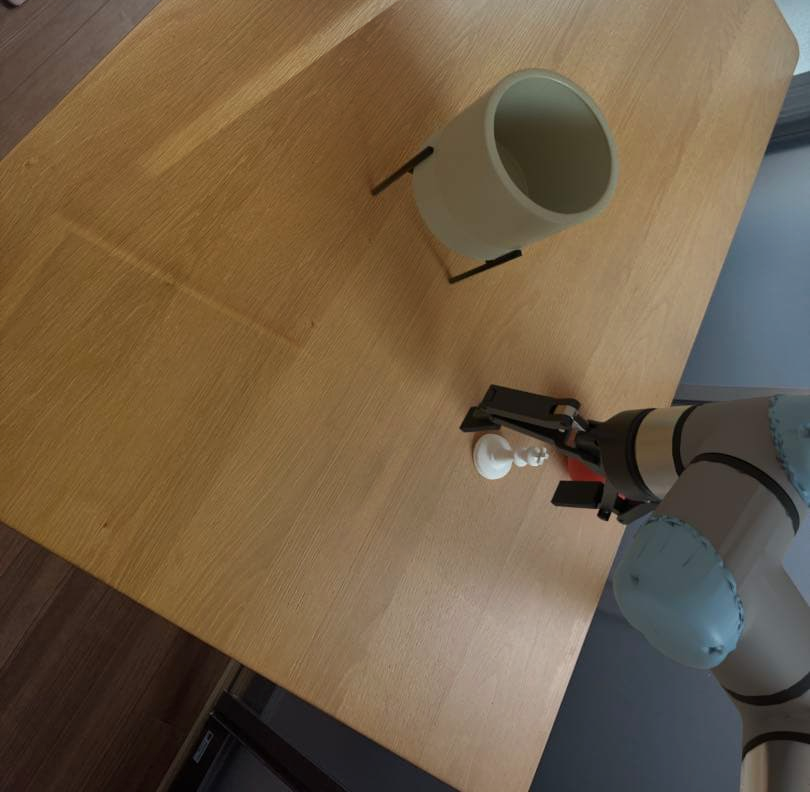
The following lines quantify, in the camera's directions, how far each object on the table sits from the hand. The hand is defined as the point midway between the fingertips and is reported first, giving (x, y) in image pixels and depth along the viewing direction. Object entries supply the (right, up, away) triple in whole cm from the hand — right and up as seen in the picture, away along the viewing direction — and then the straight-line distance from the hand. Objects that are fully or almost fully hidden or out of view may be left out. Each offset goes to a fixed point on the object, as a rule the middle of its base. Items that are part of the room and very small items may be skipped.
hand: (513, 457), depth 78 cm
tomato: (+9, -4, +9) cm, 13 cm away
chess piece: (-2, -1, +4) cm, 5 cm away
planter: (-8, +26, +9) cm, 29 cm away
